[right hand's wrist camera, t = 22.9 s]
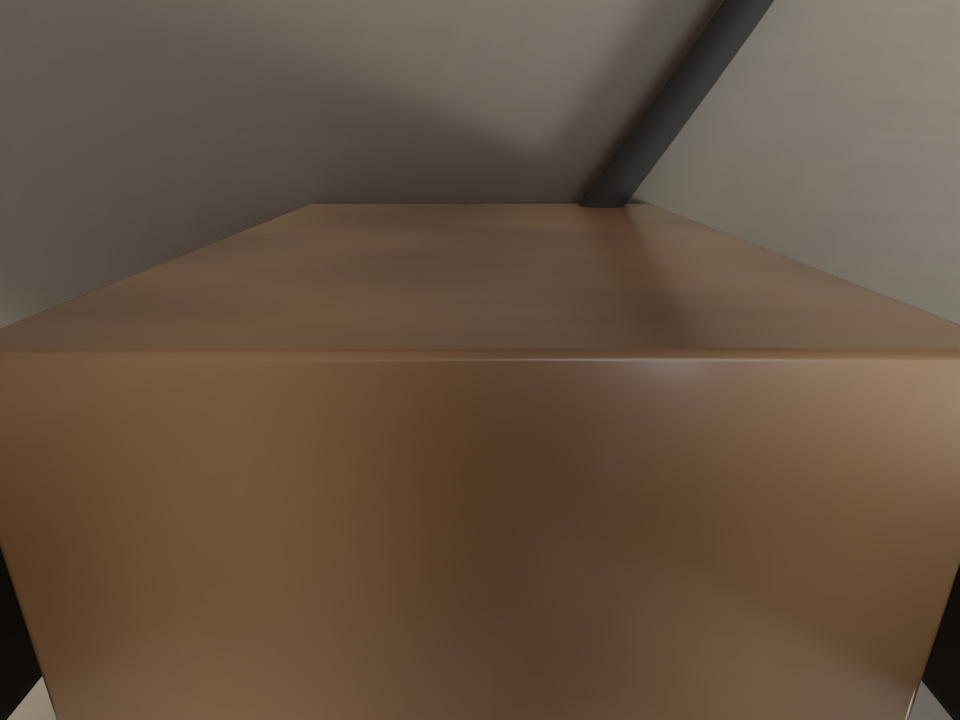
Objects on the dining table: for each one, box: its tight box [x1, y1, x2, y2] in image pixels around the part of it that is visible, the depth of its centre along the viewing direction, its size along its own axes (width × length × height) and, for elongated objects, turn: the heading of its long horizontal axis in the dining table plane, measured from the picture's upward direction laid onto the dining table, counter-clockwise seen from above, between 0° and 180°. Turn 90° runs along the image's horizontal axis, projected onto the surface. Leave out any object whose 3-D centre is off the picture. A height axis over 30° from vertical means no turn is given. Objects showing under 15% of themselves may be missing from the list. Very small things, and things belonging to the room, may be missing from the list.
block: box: [0, 204, 960, 720], centre depth 12 cm, size 9×9×12 cm
